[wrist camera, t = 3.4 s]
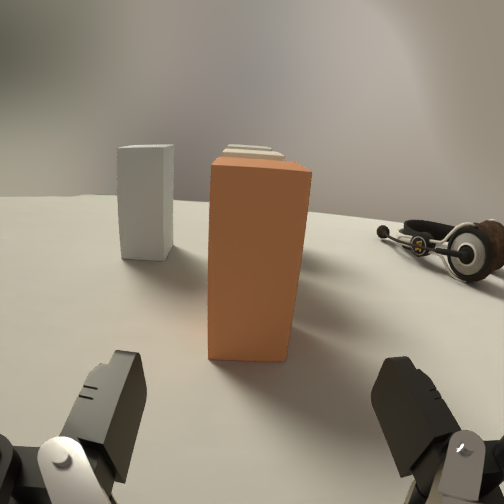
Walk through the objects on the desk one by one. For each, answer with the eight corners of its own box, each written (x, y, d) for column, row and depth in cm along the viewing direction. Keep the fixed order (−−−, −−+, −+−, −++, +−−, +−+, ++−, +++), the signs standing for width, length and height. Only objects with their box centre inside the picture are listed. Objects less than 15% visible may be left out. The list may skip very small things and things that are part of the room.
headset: (490, 230, 26) (362, 206, 43) (479, 298, 28) (358, 258, 45) (519, 223, 34) (421, 204, 51) (511, 272, 36) (417, 245, 53)
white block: (121, 258, 33) (116, 148, 28) (134, 242, 37) (132, 145, 33) (164, 261, 33) (163, 147, 28) (173, 244, 38) (174, 144, 33)
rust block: (208, 359, 19) (211, 164, 15) (213, 316, 24) (218, 156, 20) (285, 361, 20) (312, 172, 15) (277, 319, 24) (295, 162, 20)
